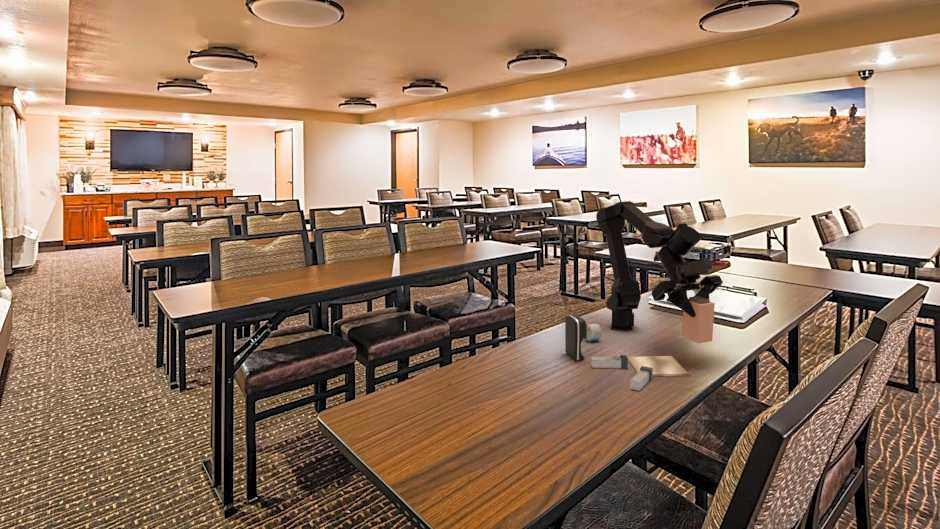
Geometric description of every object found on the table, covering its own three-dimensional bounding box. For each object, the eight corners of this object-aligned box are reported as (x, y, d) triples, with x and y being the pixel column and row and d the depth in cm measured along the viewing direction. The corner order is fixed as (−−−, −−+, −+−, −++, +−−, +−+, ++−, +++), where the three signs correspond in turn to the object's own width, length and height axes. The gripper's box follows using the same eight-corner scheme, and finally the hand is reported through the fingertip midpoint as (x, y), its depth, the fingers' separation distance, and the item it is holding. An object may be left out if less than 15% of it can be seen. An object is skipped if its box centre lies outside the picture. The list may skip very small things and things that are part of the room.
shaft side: (625, 364, 138) (625, 355, 138) (627, 368, 136) (627, 359, 135) (590, 364, 139) (591, 355, 139) (592, 368, 137) (592, 358, 136)
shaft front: (641, 375, 131) (642, 365, 131) (652, 378, 130) (652, 368, 129) (629, 388, 124) (629, 378, 124) (640, 391, 123) (640, 380, 122)
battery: (588, 360, 142) (588, 319, 140) (575, 361, 142) (575, 321, 139) (577, 351, 149) (577, 312, 147) (564, 353, 148) (564, 314, 146)
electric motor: (577, 338, 160) (577, 322, 159) (591, 336, 162) (591, 320, 161) (589, 345, 154) (589, 329, 153) (603, 343, 155) (603, 327, 154)
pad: (639, 376, 131) (640, 374, 131) (626, 359, 142) (626, 356, 142) (688, 375, 130) (688, 373, 130) (671, 358, 142) (671, 355, 142)
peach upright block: (681, 336, 139) (683, 296, 137) (695, 334, 140) (697, 294, 138) (698, 343, 133) (700, 302, 131) (712, 341, 135) (714, 300, 133)
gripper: (660, 250, 133) (688, 303, 125) (720, 245, 139) (750, 295, 131) (640, 274, 142) (665, 325, 134) (697, 268, 148) (724, 317, 139)
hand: (702, 315), depth 134 cm, fingers closed on peach upright block, 4 cm apart
